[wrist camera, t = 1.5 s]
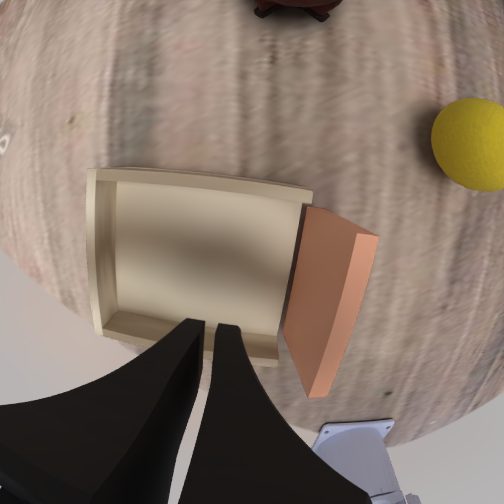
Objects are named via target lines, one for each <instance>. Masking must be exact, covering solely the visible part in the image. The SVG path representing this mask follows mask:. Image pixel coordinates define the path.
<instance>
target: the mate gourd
mask: <svg viewBox="0 0 504 504" xmlns="http://www.w3.org/2000/svg"><path fill="white" fill-rule="evenodd" d="M254 1H255V3H256V4H257V6H258V7H257V8H256V9H254V13H255V14H256V15H257V16H258V17H260V18H264V17H266V16H267V15H269V14H270V13H272V12H273V11H275V10H276V9H278V8H279V7H281V6H282V5H285V6H294V7H301V8H302V9H304V10H305V11H306V12H308V13H309V14H310V15H311V16H313V17H314V18H315V19H317V20H318V21H320V22H324V21H325V20H327V18H329V16H330V15H329V14H328V13H327V12H328V11H330V10H331V9H333V8H335V7H336V6H337V5H339V4H340V3H341V2H342V0H254Z"/></svg>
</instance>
